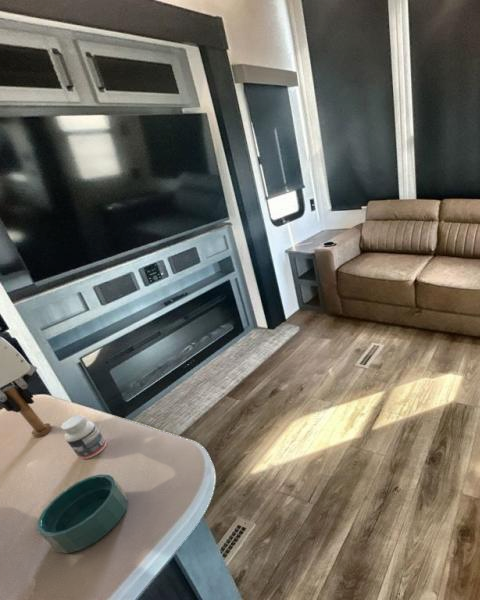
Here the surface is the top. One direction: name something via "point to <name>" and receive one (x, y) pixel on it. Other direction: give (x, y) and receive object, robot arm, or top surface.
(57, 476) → the top surface
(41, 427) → the wooden peg
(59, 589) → the top surface
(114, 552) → the top surface
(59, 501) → the bowl
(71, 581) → the top surface
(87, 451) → the pill bottle
